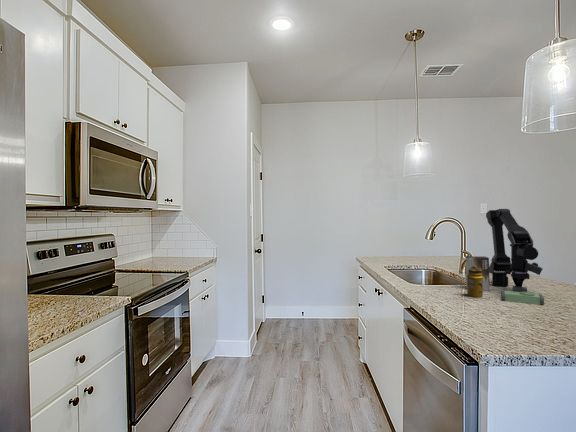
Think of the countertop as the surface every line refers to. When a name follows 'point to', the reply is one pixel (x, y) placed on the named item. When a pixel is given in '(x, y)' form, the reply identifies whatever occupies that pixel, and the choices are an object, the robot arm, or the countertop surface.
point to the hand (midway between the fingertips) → (519, 291)
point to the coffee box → (479, 268)
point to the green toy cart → (522, 297)
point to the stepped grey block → (519, 289)
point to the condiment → (474, 284)
